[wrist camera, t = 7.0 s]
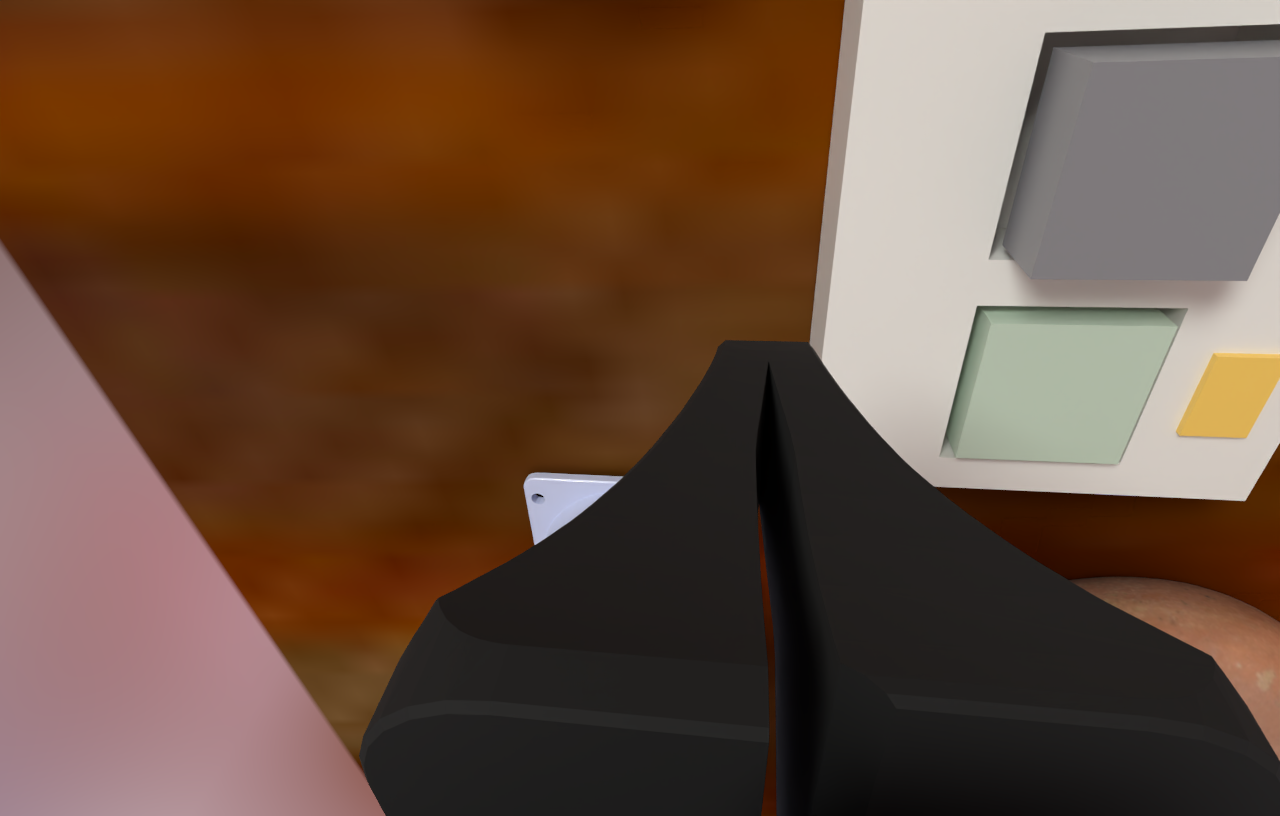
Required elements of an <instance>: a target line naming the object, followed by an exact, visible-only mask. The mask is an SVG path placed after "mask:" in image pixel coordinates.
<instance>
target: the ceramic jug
mask: <svg viewBox="0 0 1280 816" xmlns="http://www.w3.org/2000/svg"><path fill="white" fill-rule="evenodd" d="M1069 581H1071V582H1073V583H1074V584H1076V585H1078V586H1079V587H1081V588H1083V589H1084V590H1086V591H1088V592H1089V593H1091V594H1093V595H1095V596H1096V597H1098V598H1100V599H1102V600H1104V601H1105V602H1107V603H1109V604H1111V605H1113V606H1115V607H1117V608H1119V609H1121V610H1123V611H1125V612H1127V613H1129V614H1131V615H1133V616H1134V617H1136V618H1138V619H1140V620H1142V621H1144V622H1146V623H1148V624H1150V625H1152V626H1154V627H1156V628H1158V629H1160V630H1162V631H1164V632H1166V633H1168V634H1170V635H1172V636H1174V637H1176V638H1177V639H1179V640H1181V641H1183V642H1185V643H1187V644H1189V645H1191V646H1193V647H1195V648H1197V649H1199V650H1201V651H1203V652H1205V653H1207V654H1209V655H1211V656H1212V657H1213V658H1214V660H1215V661H1216V663H1217V664H1218V665H1219V667H1220V668H1221V669H1222V671H1223V672H1224V673H1225V675H1226V676H1227V678H1228V679H1229V681H1230V682H1231V683H1232V685H1233V686H1234V688H1235V689H1236V690H1237V692H1238V693H1239V695H1240V696H1241V698H1242V699H1243V700H1244V702H1245V703H1246V705H1247V706H1248V708H1249V710H1250V711H1251V713H1252V715H1253V716H1254V718H1255V720H1256V721H1257V723H1258V725H1259V726H1260V728H1261V730H1262V731H1263V733H1264V735H1265V737H1266V738H1267V740H1268V742H1269V743H1270V745H1271V747H1272V748H1273V750H1274V752H1275V753H1276V755H1277V757H1278V759H1279V760H1280V622H1278V621H1277V620H1275V619H1273V618H1272V617H1270V616H1269V615H1267V614H1265V613H1264V612H1262V611H1260V610H1259V609H1257V608H1255V607H1253V606H1251V605H1249V604H1246V603H1244V602H1242V601H1240V600H1238V599H1235V598H1233V597H1230V596H1228V595H1226V594H1223V593H1220V592H1217V591H1214V590H1211V589H1207V588H1204V587H1200V586H1197V585H1192V584H1188V583H1183V582H1177V581H1172V580H1164V579H1154V578H1144V577H1094V578H1082V579H1073V580H1069Z"/></svg>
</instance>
